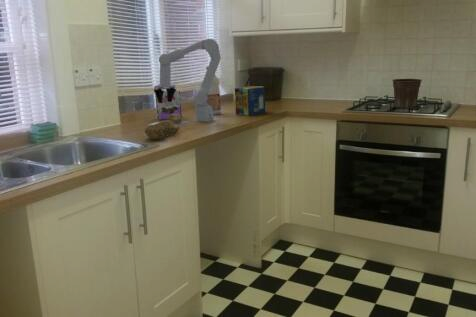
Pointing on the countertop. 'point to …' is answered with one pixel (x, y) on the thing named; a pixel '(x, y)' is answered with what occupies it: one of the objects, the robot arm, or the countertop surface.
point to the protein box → (250, 100)
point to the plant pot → (406, 92)
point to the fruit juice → (214, 96)
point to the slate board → (177, 123)
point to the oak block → (175, 118)
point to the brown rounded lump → (161, 130)
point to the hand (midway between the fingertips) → (164, 102)
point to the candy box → (168, 106)
